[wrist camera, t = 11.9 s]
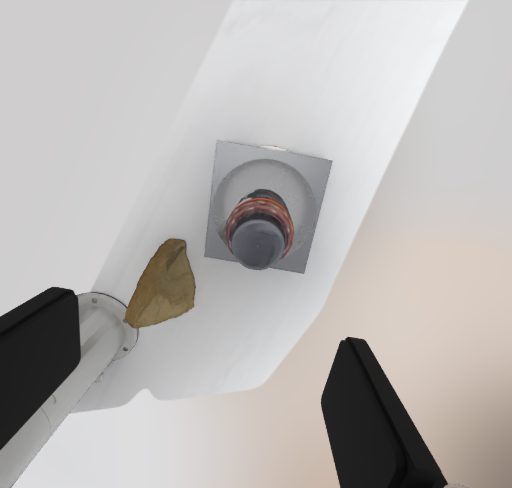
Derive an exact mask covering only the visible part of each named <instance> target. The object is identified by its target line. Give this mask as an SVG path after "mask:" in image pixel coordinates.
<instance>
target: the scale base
mask: <svg viewBox="0 0 512 488" xmlns="http://www.w3.org/2000/svg"><path fill="white" fill-rule="evenodd" d="M257 159H271V160H276V161H280V162H283V163H285V164H288V165H289V166H291V167H293V168H294V169H296V170H297V171H298V172H299V173H300V174H301V175H302V176H303V177H304V178H305V179H306V181H307V182H308V184H309V185H310V187H311V189H312V192H313V195H314V198H315V203H316V217H315V223H314V226H313V229H312V231H311V233H310V235H309V237H308V238H307V240H306V241H305V242H304V243H303V245H302V246H301V247H300V248H299V249H297V250H296V251H295V252H293V253H292V254H290V255H288V256H287V257H284V258H283V259H282V260H280V261H279V262H277V263H276V264H275V265H273V266H272V267H269V268H274V269H280V270H286V271H292V272H297V273H303V274H304V272H305V268H306V264H307V260H308V256H309V252H310V248H311V244H312V240H313V236H314V232H315V228H316V224H317V220H318V216H319V212H320V208H321V204H322V200H323V196H324V192H325V188H326V184H327V181H328V177H329V173H330V169H331V165H332V160H326V159H321V158H315V157H309V156H304V155H298V154H293V153H290V152H289V151H288V150H286V149H282V148H277V146H274V147H271V146H263V145H262V146H259V147H253V146H247V145H242V144H236V143H230V142H225V141H219V140H217V143H216V153H215V162H214V171H213V181H212V190H211V199H210V208H209V218H208V227H207V236H206V245H205V255H204V257H210V258H216V259H221V260H227V261H233V262H239V261H238V260H237V259H236V258H235V257H234V255H233V254H232V253H231V252H230V250H229V248H228V247H227V246H226V244H225V243H224V242H223V241H222V239H221V238H220V236H219V234H218V233H217V231H216V228H215V225H214V221H213V214H212V207H213V200H214V196H215V193H216V190H217V188H218V186H219V184H220V183H221V181H222V180H223V179H224V177H225V176H226V175H227V174H228V173H229V172H230V171H232V170H233V169H234V168H236V167H237V166H239V165H241V164H243V163H245V162H248V161H252V160H257Z"/></svg>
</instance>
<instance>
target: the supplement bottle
mask: <svg viewBox="0 0 512 488" xmlns="http://www.w3.org/2000/svg"><path fill="white" fill-rule="evenodd" d="M225 240H226V243H227V246H228V248H229V250H230V252H231V253H232V254H233V255H234V257H235V258H236V259H237V260H238V261H239V263H241V264H242V265H243V266H245V267H247V268H249V269H254V270H262V269H267V268H269V267H272V266H273V265H275V264H276V263H277V262H279V261H280V260H282V259H283V258H284V257H285V256H286V255H287V253H288V252H289V250H290V249H291V247H292V244H293V240H294V226H293V222H292V219H291V217H290V214H289V211H288V208H287V206H286V204H285V202H284V201H283V199H282V198H281V197H280V196H279V195H278V194H277V193H275V192H273V191H271V190H267V189H257V190H253V191H251V192H249V193H247V194H246V195H245V196H244V197H243V198H242V199H241V200H240V201H239V203H238V204H237V206H236V207H235V208H234V210H233V211H232V213H231V214H230V216H229V218H228V220H227V222H226V227H225Z"/></svg>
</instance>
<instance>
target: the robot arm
mask: <svg viewBox="0 0 512 488" xmlns="http://www.w3.org/2000/svg"><path fill="white" fill-rule="evenodd" d="M126 310H127V308H126V307H125V306H124V305H122V304H121V303H120V302H118V301H117V300H115V299H113V298H111V297H109V296H106V295H103V294H99V293H82V294H79V295H75V294H74V292H73V290H70V289H64V288H59V287H51V288H49V289H47V290H45V291H44V292H42V293H40V294H39V295H37V296H35V297H33V298H32V299H30V300H28V301H27V302H25V303H23V304H22V305H20V306H18V307H16V308H15V309H13V310H11V311H9V312H8V313H6V314H4V315H2V316H1V317H0V488H11V487H12V486H13V485H14V483H15V482H16V481H17V479H18V478H19V476H20V475H21V474H22V473H23V471H24V470H25V469H26V468H27V466H28V465H29V464H30V462H31V461H32V460H33V458H34V457H35V456H36V455H37V453H38V452H39V451H40V450H41V448H42V447H43V446H44V444H45V443H46V442H47V441H48V439H49V438H50V437H51V436H52V434H53V433H54V432H55V430H56V429H57V428H58V427H59V425H60V424H61V423H62V422H63V420H64V419H65V418H66V416H67V415H68V414H69V413H70V411H71V410H72V409H73V408H74V406H75V405H76V404H77V402H78V401H79V400H80V399H81V397H82V396H83V395H84V394H85V392H86V391H87V390H88V388H89V387H90V386H91V385H92V383H93V382H100V381H102V380H103V370H104V369H105V368H106V367H107V365H108V364H109V363H110V361H114V360H118V359H120V358H122V357H124V356H125V355H127V354H128V353H129V352H130V350H131V349H132V348H133V346H134V345H135V343H136V340H137V336H138V330H137V329H135V328H132V327H131V326H130V325H129V324H128V323H127V322H126V320H125V319H124V318H125V313H126ZM321 407H322V411H323V416H324V420H325V424H326V428H327V433H328V437H329V441H330V445H331V450H332V454H333V458H334V462H335V467H336V471H337V475H338V479H339V483H340V488H468V487H465V486H463V485H460V484H448V483H447V481H446V479H445V478H444V476H443V474H442V473H441V470H440V468H439V466H438V465H437V463H436V462H435V460H434V458H433V456H432V454H431V453H430V451H429V449H428V447H427V446H426V444H425V442H424V441H423V439H422V437H421V435H420V434H419V432H418V430H417V428H416V427H415V425H414V423H413V421H412V420H411V418H410V416H409V415H408V413H407V411H406V409H405V408H404V406H403V404H402V403H401V401H400V399H399V397H398V396H397V394H396V392H395V390H394V389H393V387H392V385H391V384H390V382H389V380H388V378H387V377H386V375H385V373H384V371H383V370H382V368H381V366H380V364H379V363H378V361H377V359H376V358H375V356H374V354H373V352H372V351H371V349H370V347H369V345H368V344H367V342H366V341H365V340H364V339H358V338H352V337H347V338H346V339H345V340H342V341H341V342H340V344H339V348H338V350H337V353H336V356H335V359H334V362H333V365H332V368H331V370H330V373H329V377H328V379H327V382H326V385H325V388H324V391H323V394H322V398H321Z"/></svg>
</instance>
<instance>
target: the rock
mask: <svg viewBox="0 0 512 488" xmlns="http://www.w3.org/2000/svg"><path fill="white" fill-rule="evenodd" d="M185 249H186V245H185V243H184V241H182V240H176V239H168V240H167V241H165V243H164V244H162V245H161V246H160V247H159V249H158V250H157V252H156V253H155V255H154V256H153V257H152V258H151V259H150V261H149V263H148V265H147V267H146V269H145V270H144V272H143V274H142V276H141V277H140V279H139V281H138V283H137V288H136V290H135V292H134V294H133V296H132V298H131V300H130V303H129V305H128V308H127V310H126V313H125V318H124V319H125V320H126V322H127V323H128V324H129V325H130V326H131V327H132V328H135V329H137V328H140V327H145V326H150V325H155V324H158V323H161V322H163V321H166V320H168V319H171V318H176V317H178V316H181V315H182V314H184V313H186V312H188V311H189V309H192V308H193V307H194V304H193V300H194V294H195V288H196V287H195V284H194V277H193V275H192V271H191V270H190V266H189V261H188V259H187V257H186V255H185V252H186V250H185Z"/></svg>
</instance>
